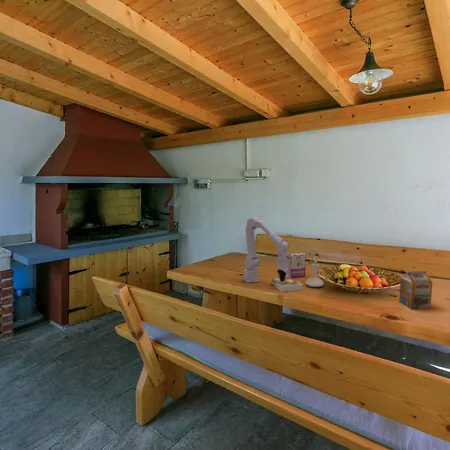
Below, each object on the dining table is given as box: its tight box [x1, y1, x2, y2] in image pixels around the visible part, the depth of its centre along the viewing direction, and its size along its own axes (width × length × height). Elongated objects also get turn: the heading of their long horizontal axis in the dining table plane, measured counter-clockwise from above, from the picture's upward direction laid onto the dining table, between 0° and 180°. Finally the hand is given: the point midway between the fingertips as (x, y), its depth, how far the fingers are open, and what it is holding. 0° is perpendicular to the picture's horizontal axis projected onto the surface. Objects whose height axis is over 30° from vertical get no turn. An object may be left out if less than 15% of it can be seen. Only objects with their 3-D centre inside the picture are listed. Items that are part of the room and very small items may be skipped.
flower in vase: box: [304, 247, 324, 288], centre depth 207 cm, size 13×11×25 cm
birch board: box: [271, 277, 296, 287], centre depth 212 cm, size 12×10×3 cm
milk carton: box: [398, 270, 433, 310], centre depth 172 cm, size 11×11×19 cm
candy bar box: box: [287, 252, 306, 279], centre depth 228 cm, size 11×5×16 cm, turn 104°
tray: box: [275, 280, 304, 293], centre depth 202 cm, size 15×8×4 cm, turn 104°
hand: (282, 281), depth 206 cm, fingers closed
